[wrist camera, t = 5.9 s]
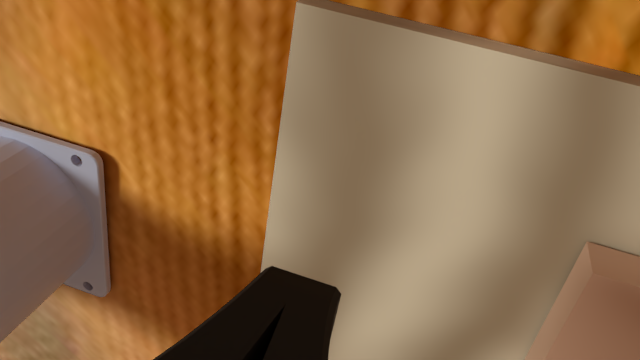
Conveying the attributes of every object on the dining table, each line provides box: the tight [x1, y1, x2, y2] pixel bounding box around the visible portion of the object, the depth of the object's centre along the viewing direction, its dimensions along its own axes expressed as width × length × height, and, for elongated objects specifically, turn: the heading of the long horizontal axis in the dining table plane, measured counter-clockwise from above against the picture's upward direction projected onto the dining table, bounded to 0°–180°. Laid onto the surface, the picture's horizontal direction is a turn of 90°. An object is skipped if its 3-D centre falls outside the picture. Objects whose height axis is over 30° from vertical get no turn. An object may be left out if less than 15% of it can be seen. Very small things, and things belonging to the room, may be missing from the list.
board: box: [261, 0, 640, 360], centre depth 20 cm, size 17×16×1 cm
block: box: [524, 242, 640, 360], centre depth 18 cm, size 2×6×6 cm
